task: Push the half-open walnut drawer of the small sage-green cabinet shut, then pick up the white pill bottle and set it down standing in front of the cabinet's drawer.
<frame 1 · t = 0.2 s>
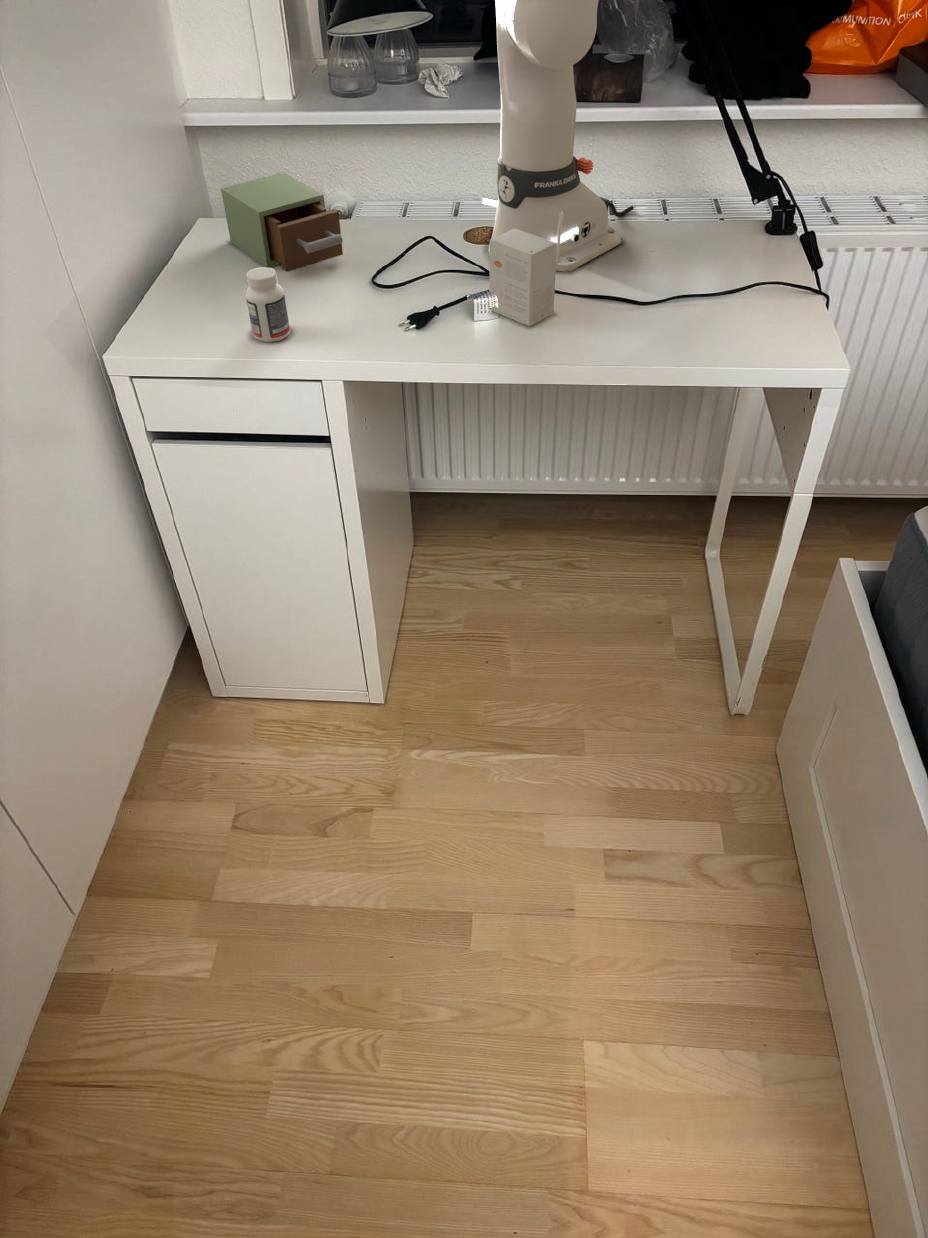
pill bottle: (271, 335, 131), on the table
small box: (520, 313, 135), on the table
cabinet: (279, 245, 152), on the table
drawer: (300, 234, 145), point 4 cm above the table, slide at 4.0 cm
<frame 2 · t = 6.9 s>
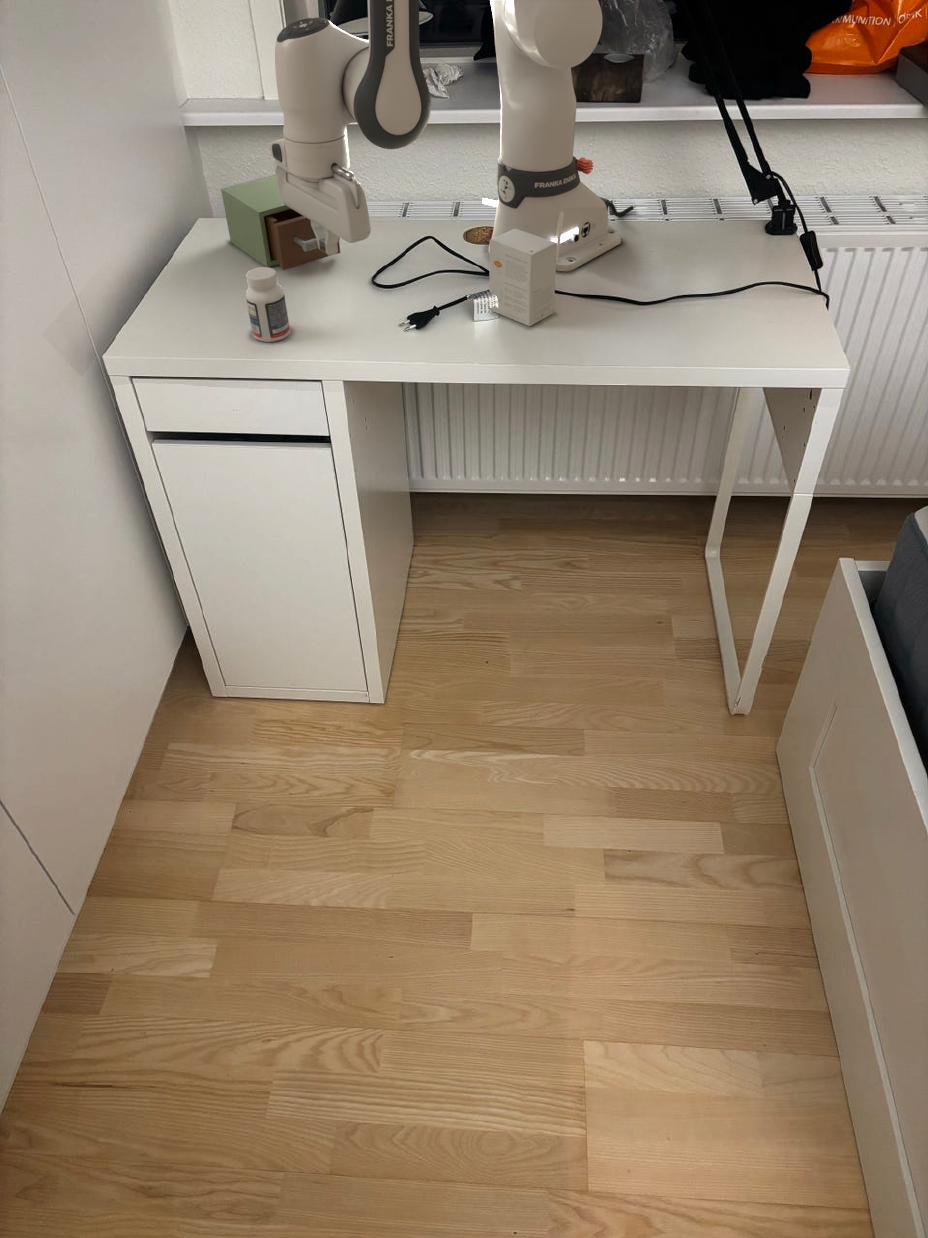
hand: (328, 251, 140), 4 cm above the table, tool pointing down, fingers closed
drawer: (297, 232, 145), point 4 cm above the table, slide at 3.2 cm, touching gripper
everything else where it was.
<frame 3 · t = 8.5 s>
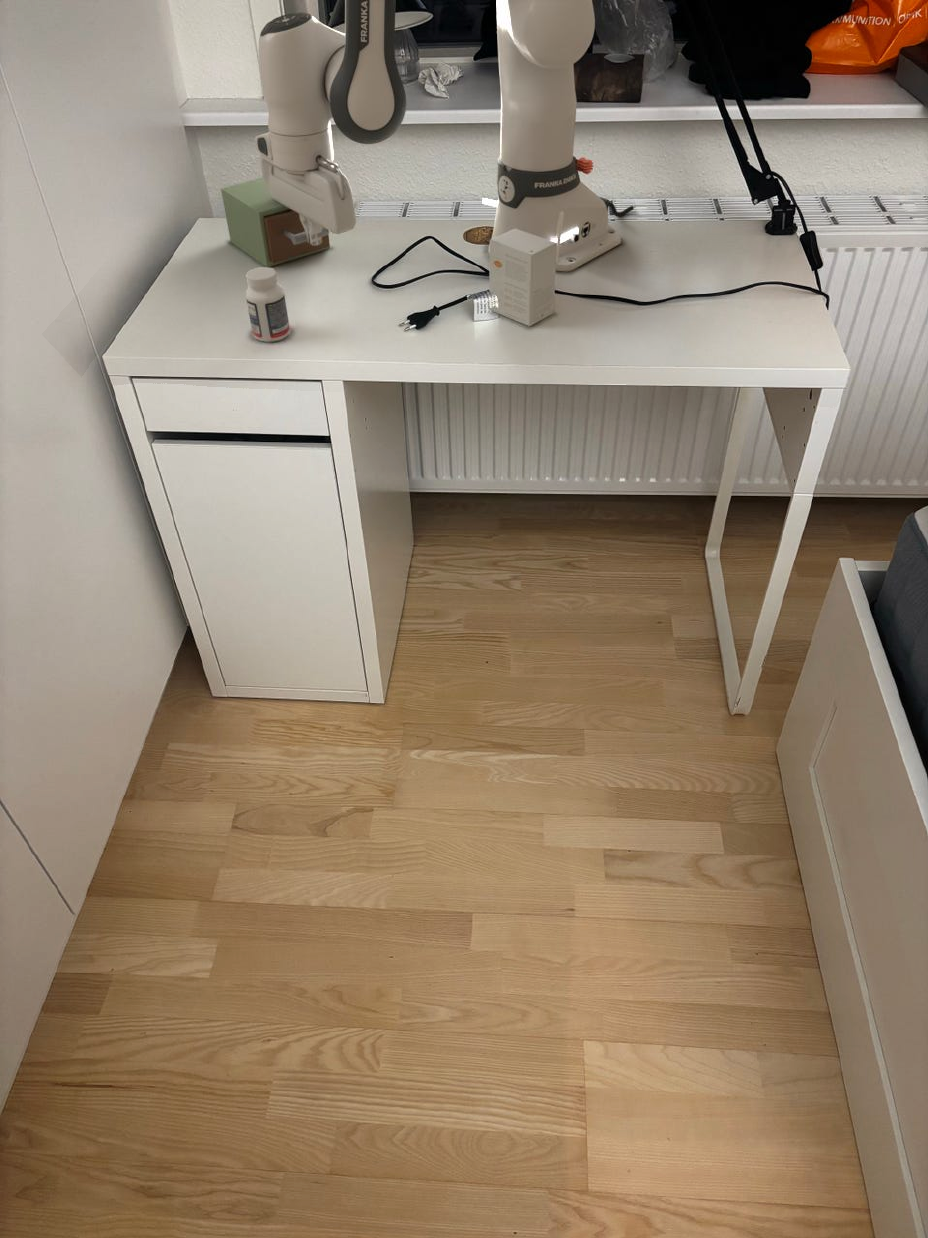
hand: (314, 243, 142), 4 cm above the table, tool pointing down, fingers closed, pressing on drawer
drawer: (287, 226, 147), point 4 cm above the table, slide at 0.0 cm, touching cabinet, gripper
everything else where it was.
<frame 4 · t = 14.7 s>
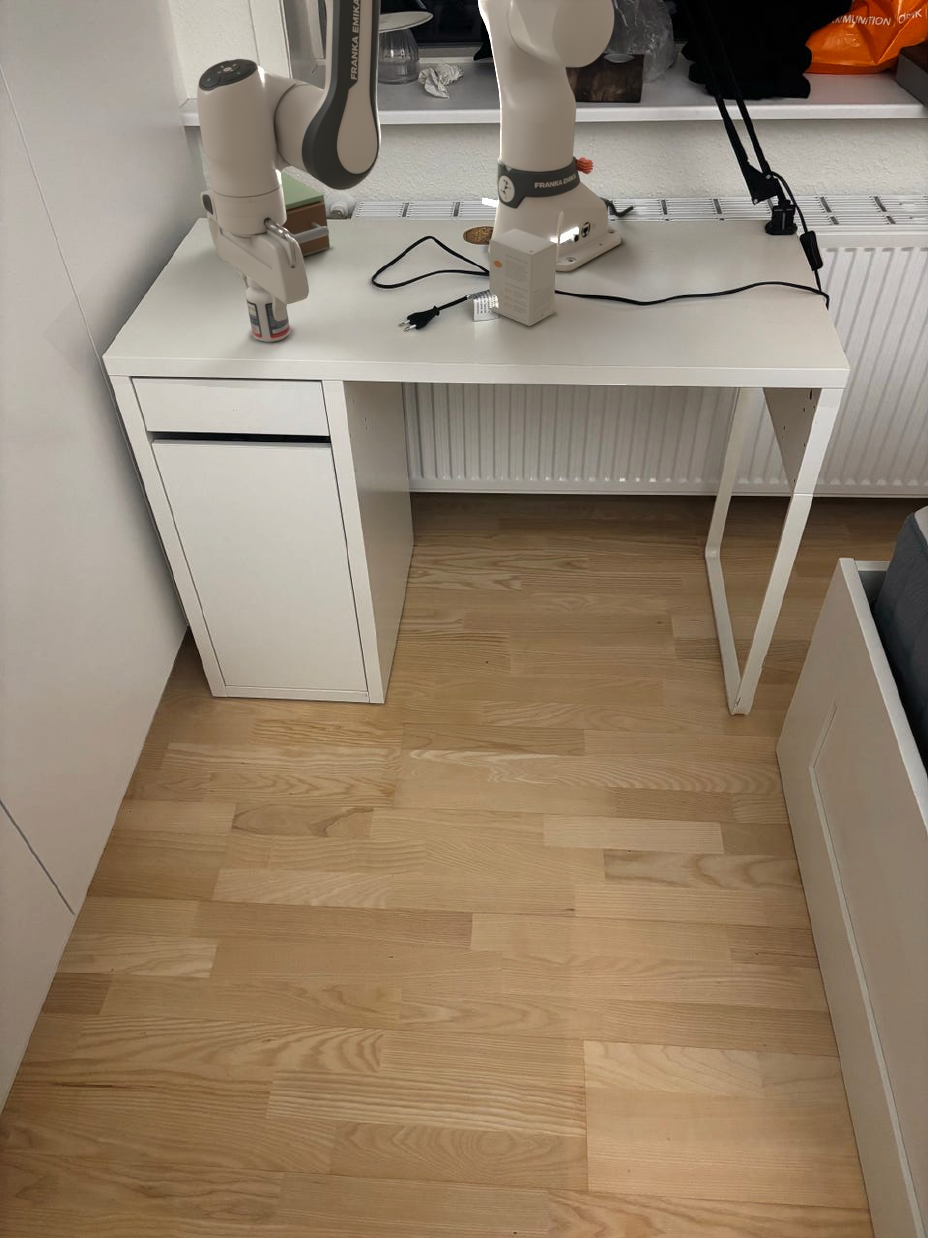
hand: (267, 309, 128), 4 cm above the table, tool pointing down, fingers closed on pill bottle, 5 cm apart
pill bottle: (271, 335, 131), on the table, touching gripper
drawer: (287, 226, 147), point 4 cm above the table, slide at 0.0 cm, touching cabinet
everything else where it was.
when the fingers open (3 cm above the table, at t = 21.5 s): pill bottle stays where it is, on the table.
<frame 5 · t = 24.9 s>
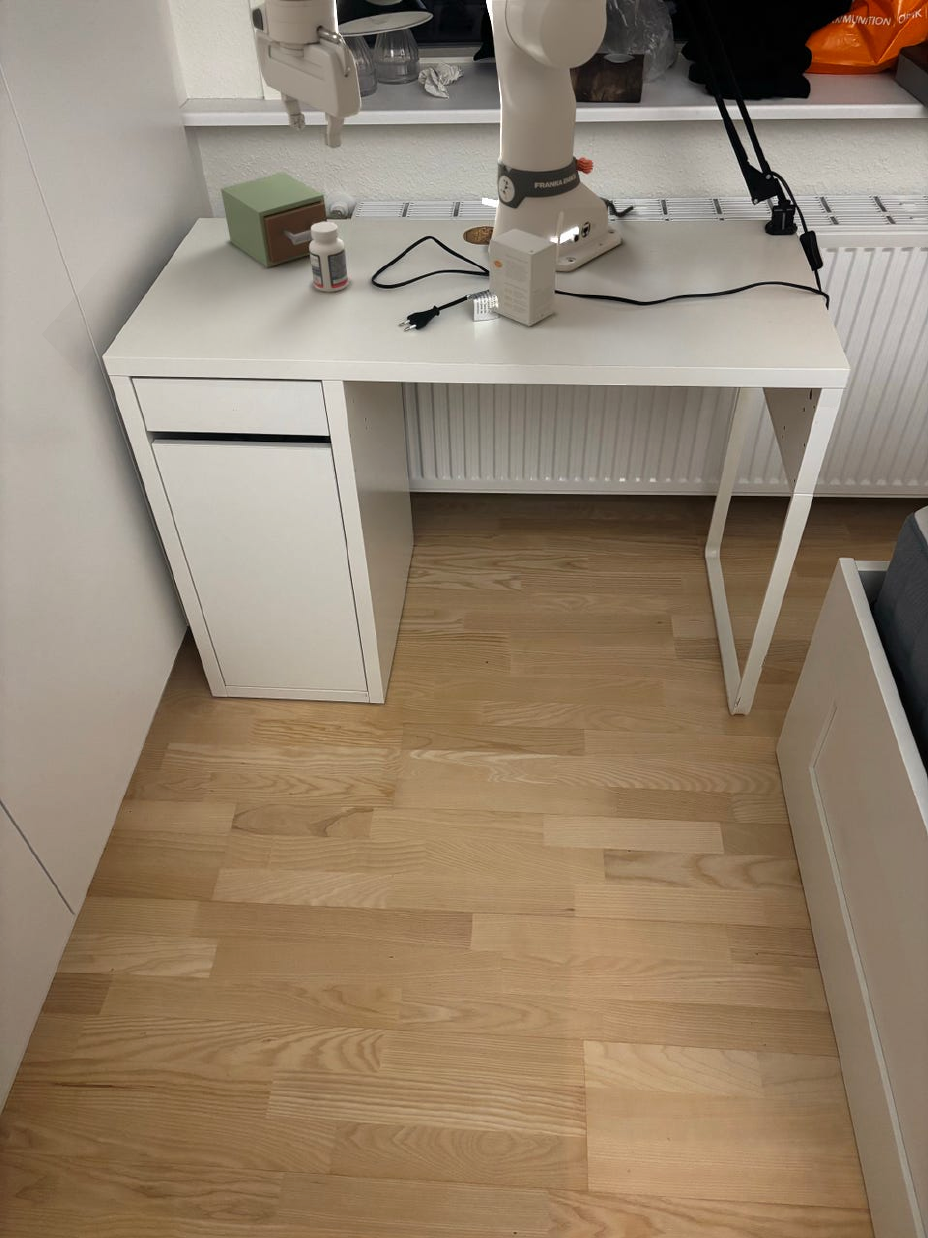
hand: (315, 137, 127), 21 cm above the table, tool pointing down, fingers open, 8 cm apart
pill bottle: (331, 286, 142), on the table
everything else where it was.
at the end: drawer slide at 0.0 cm; pill bottle inside the target area in the drawer (0.5 cm from its centre), point 0.0 cm above the cabinet's base; pill bottle tilted 0° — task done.
